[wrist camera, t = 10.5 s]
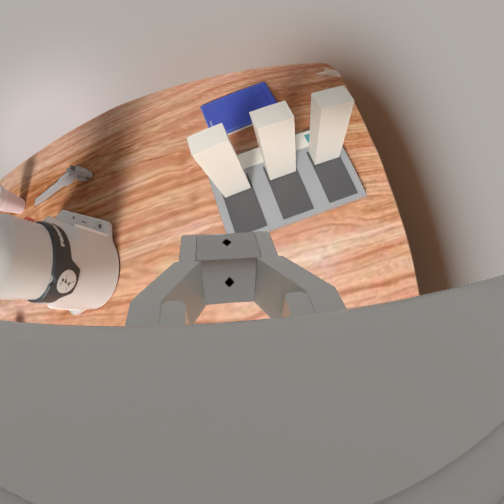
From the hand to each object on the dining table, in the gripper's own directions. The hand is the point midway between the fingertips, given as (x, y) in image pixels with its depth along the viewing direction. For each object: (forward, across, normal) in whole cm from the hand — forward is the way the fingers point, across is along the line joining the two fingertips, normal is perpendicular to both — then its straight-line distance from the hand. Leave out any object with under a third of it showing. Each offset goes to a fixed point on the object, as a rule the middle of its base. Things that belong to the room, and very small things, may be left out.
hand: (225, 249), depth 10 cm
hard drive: (+42, -5, 0) cm, 42 cm away
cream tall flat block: (+30, -10, +7) cm, 32 cm away
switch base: (+30, -11, +9) cm, 33 cm away
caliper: (+45, +34, +13) cm, 57 cm away
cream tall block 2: (+30, -16, +4) cm, 34 cm away
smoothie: (+48, +50, +16) cm, 71 cm away
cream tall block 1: (+30, -3, +9) cm, 32 cm away
